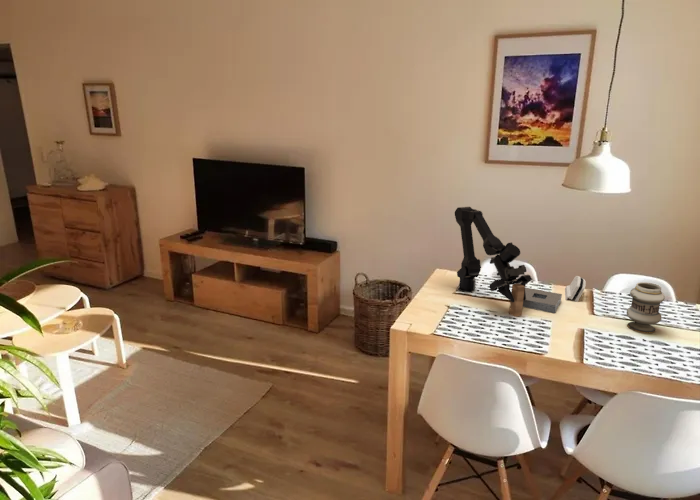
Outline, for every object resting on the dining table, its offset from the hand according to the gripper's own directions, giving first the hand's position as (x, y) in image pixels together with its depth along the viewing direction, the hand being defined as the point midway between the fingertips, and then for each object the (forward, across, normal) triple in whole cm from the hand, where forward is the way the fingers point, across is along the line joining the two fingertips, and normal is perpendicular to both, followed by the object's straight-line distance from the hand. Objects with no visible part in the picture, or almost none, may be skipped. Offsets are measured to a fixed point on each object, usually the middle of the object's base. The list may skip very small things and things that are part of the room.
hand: (519, 301), depth 210 cm
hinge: (0, +42, +10) cm, 43 cm away
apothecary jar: (+26, +37, -16) cm, 48 cm away
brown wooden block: (+4, 0, +6) cm, 7 cm away
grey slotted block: (0, +19, +9) cm, 21 cm away
